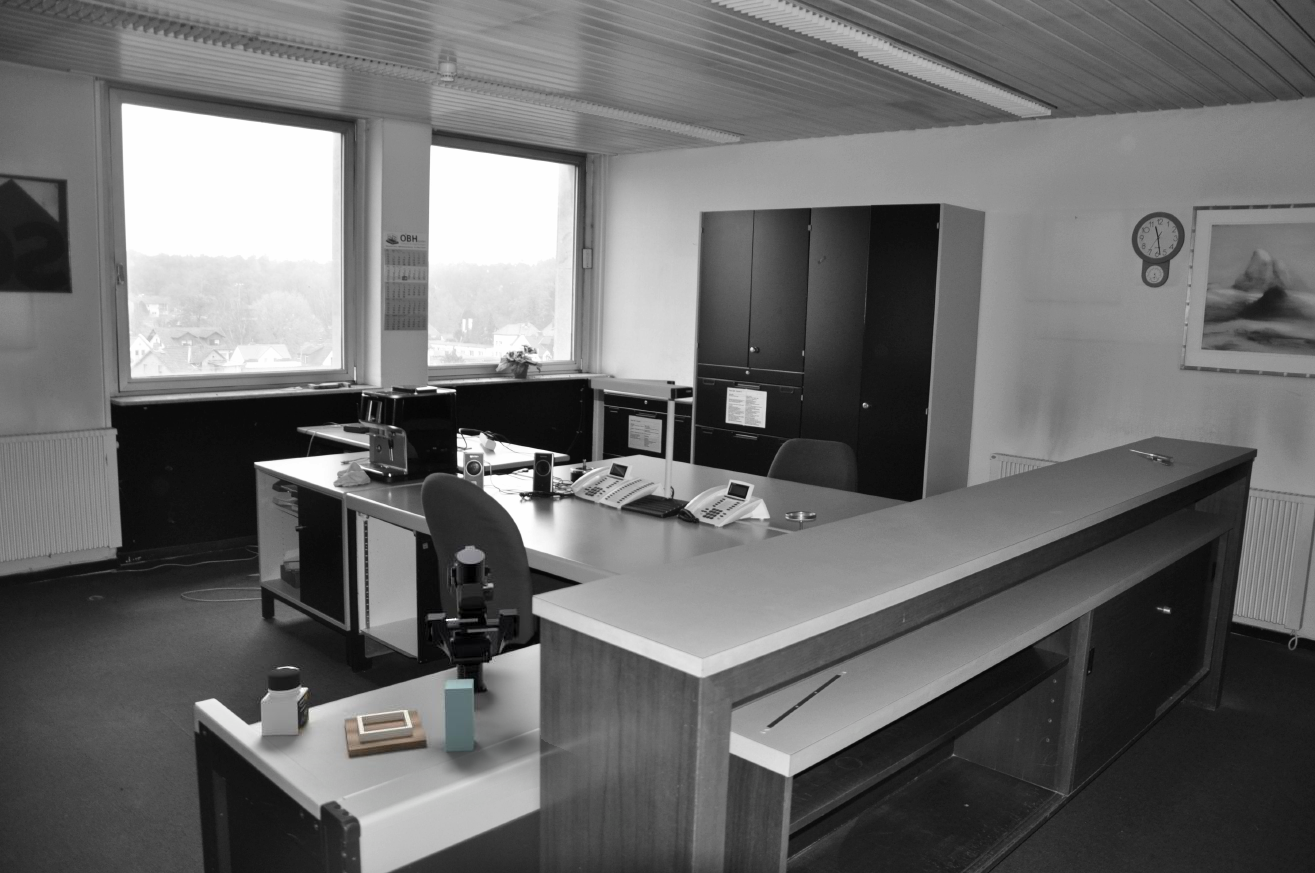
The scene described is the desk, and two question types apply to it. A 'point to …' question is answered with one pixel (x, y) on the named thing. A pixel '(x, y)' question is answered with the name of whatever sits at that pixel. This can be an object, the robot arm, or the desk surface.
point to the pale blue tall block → (459, 715)
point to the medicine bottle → (284, 703)
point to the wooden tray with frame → (384, 732)
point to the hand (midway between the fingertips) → (474, 653)
